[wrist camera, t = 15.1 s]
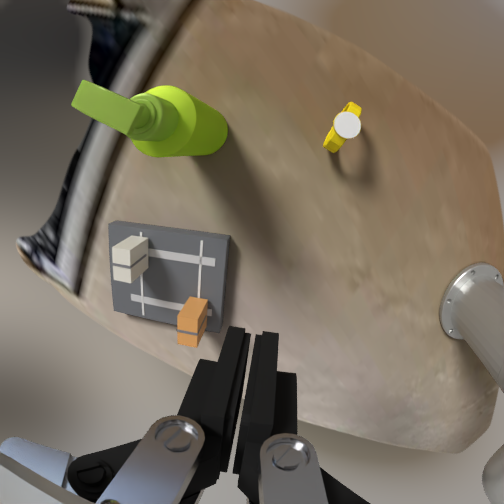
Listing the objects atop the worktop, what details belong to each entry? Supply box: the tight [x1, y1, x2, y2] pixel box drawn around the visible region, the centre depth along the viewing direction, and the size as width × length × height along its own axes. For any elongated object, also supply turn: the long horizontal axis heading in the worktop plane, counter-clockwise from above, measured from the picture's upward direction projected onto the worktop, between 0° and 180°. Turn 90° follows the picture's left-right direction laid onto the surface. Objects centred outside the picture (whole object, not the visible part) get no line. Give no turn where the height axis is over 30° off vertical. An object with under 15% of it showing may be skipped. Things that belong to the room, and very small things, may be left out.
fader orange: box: [177, 297, 208, 348], centre depth 36 cm, size 2×4×5 cm, turn 173°
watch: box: [323, 102, 362, 153], centre depth 29 cm, size 6×3×6 cm, turn 150°
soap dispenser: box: [71, 80, 228, 157], centre depth 24 cm, size 6×7×20 cm
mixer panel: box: [109, 221, 230, 333], centre depth 39 cm, size 16×13×2 cm
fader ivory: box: [112, 235, 148, 283], centre depth 34 cm, size 2×4×5 cm, turn 173°
